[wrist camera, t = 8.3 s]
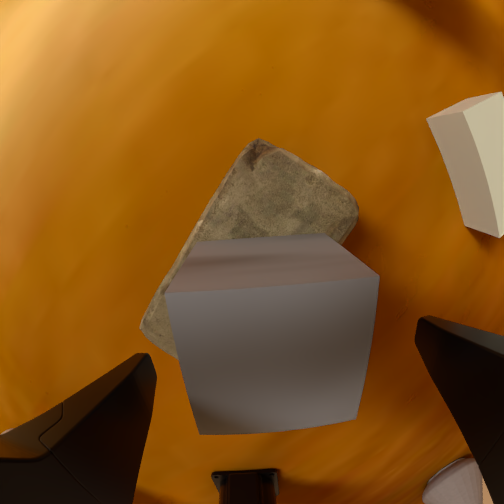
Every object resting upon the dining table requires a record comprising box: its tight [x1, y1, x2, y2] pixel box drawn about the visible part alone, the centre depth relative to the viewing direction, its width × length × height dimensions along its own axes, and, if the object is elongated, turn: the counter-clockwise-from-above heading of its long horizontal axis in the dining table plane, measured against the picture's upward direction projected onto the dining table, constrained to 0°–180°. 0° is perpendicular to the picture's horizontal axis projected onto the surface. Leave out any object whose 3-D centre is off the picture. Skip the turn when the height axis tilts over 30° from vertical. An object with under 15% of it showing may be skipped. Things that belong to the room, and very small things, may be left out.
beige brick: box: [426, 92, 504, 238], centre depth 13 cm, size 8×5×4 cm, turn 31°
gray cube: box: [165, 233, 380, 435], centre depth 9 cm, size 5×5×5 cm
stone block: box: [140, 138, 359, 360], centre depth 14 cm, size 6×12×5 cm, turn 148°
